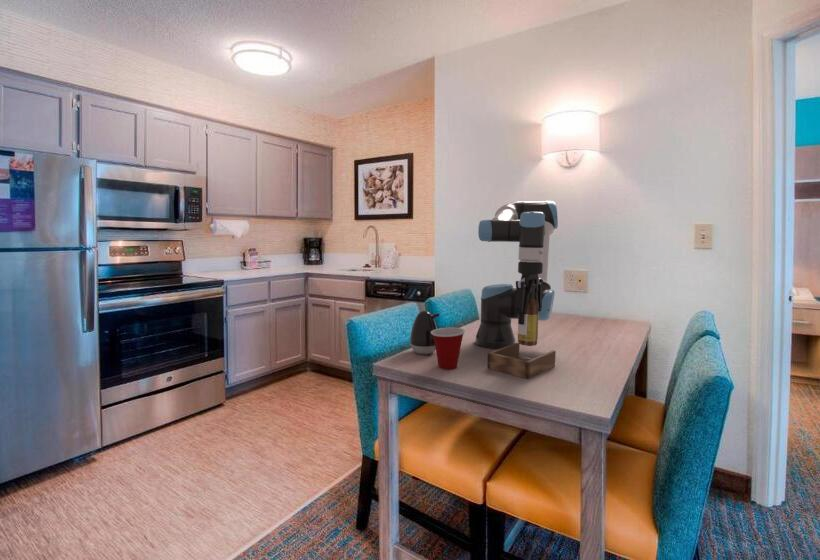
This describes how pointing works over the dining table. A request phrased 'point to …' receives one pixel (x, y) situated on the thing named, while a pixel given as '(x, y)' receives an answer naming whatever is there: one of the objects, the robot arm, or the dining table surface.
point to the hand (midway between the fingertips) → (527, 332)
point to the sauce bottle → (531, 322)
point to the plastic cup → (448, 346)
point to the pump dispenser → (423, 333)
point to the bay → (519, 362)
